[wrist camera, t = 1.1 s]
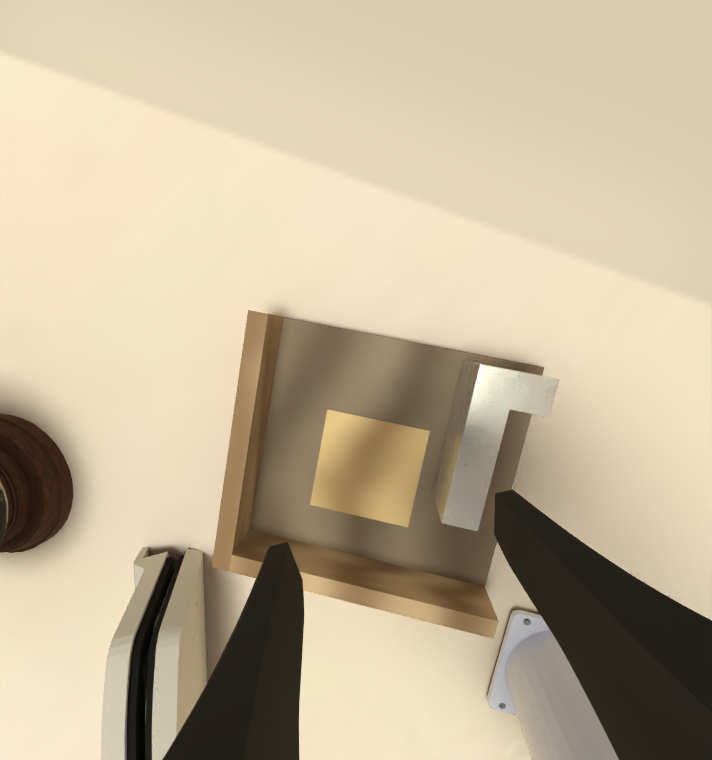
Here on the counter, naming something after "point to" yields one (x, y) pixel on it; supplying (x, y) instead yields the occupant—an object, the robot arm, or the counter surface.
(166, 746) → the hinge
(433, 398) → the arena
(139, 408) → the counter surface
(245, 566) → the walls
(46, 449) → the ball on wooden stand
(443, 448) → the bracket
